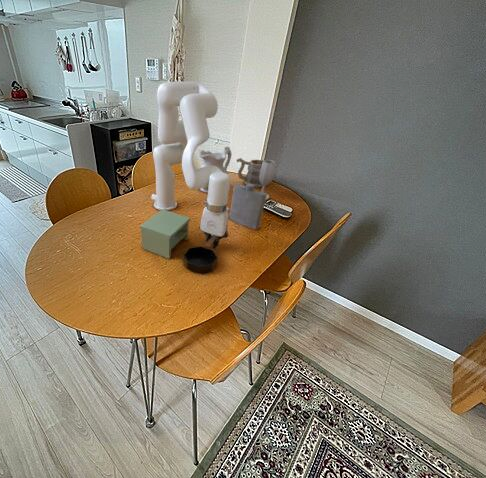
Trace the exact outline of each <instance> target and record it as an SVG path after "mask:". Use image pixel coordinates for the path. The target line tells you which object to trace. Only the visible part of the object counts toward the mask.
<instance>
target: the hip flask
mask: <svg viewBox="0 0 486 478" xmlns="http://www.w3.org/2000/svg"><path fill="white" fill-rule="evenodd" d="M254 188H255V187H254V184H250V183H248V184H245V185H242V184H239V183H236V184H233V191H232V196H231V197H232V198H231V205H230V209H229V215H228V220H231V221H233V222H234V223H237V224H239V225H241V226H243V227H246V228H249V229H252V230H255V231H256V230H259V229H260V224H261V221H262V216H263V212H264V208H265V204H266V201H267V200H266V196H267V195H268V194H267V192H265V191H264V192H262V191H258V190H256V189H254Z"/></svg>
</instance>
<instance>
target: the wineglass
mask: <svg viewBox="0 0 486 478" xmlns="http://www.w3.org/2000/svg"><path fill="white" fill-rule="evenodd" d="M263 161H264V162H263V164H262V166H261V169H260V172H259V182H260V183H261V184H262V185H263V187H261V192H264V193H265V189H266V186H268V185H269V184H271V183H272V182H273V180H274V177H275V174H276V161H275V160H272V159H265V160H263ZM268 200H270V195H269V194H267V196H266V200H265V201H268Z"/></svg>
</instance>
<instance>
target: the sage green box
mask: <svg viewBox="0 0 486 478" xmlns="http://www.w3.org/2000/svg"><path fill="white" fill-rule="evenodd" d="M190 221H191V217H189V216H185V215H183V214H179V213H176V212H172V211H170V210H168V211H166V210H159V211H158V212H157V213H155V214H154V215H152V216H150V217H149V218H148V219H147V220H146V221H144V222H143V223H142V224H140V225H139V229H140V232H141V234H140V235H141V246H142V250H145V251H148V252H150V253H153V254H155V255H158V256H160V257H164V258H166V259H170V258H171V257H172V254H171V253H172V250H173V249H174V248H175V247H176V245H178V244H179V242H181V241H182V240H185V241H188V240H189V230H190V228H189V227H190Z"/></svg>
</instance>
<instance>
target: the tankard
mask: <svg viewBox="0 0 486 478" xmlns="http://www.w3.org/2000/svg"><path fill="white" fill-rule="evenodd" d="M235 161H236V163H239V162H240V164H241V165H240V167H239V169H238V171H237V176H238V179H240V180H244V181H243V184H244V185H246V184H248V183H250V184H254V188H255V189H256V188H257V189H258V188H262V187H263V185H262V184H261V183H260V182H259V172H260V169H261V166H262V164H263V162H264V160H263V159H251V160H250V161H246V160H245V159H243V158H242V157H240V158H237V159H236V160H235ZM245 165H246V166H247V173H246V175H243V174H242V172H243V170H244V169H245Z"/></svg>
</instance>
